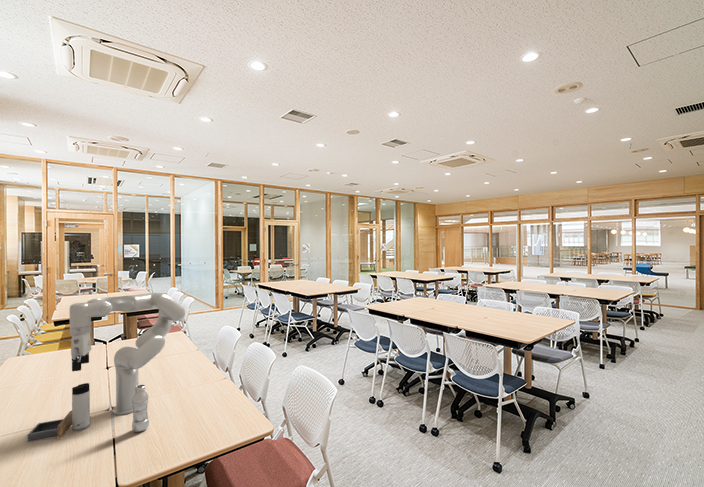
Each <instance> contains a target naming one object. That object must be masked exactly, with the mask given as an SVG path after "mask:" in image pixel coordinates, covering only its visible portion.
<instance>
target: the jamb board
mask: <svg viewBox="0 0 704 487" xmlns="http://www.w3.org/2000/svg"><path fill="white" fill-rule="evenodd" d="M62 419H63V420H62V421H61V423H60V424H59V425H58V437H57V441H59V440H62V439H63V437H64V436H65V435H66V434H67V433H68V431H69V429H71V427H72V410H70V411H69V412H67V414H66V415H65V416H64V418H62Z"/></svg>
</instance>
